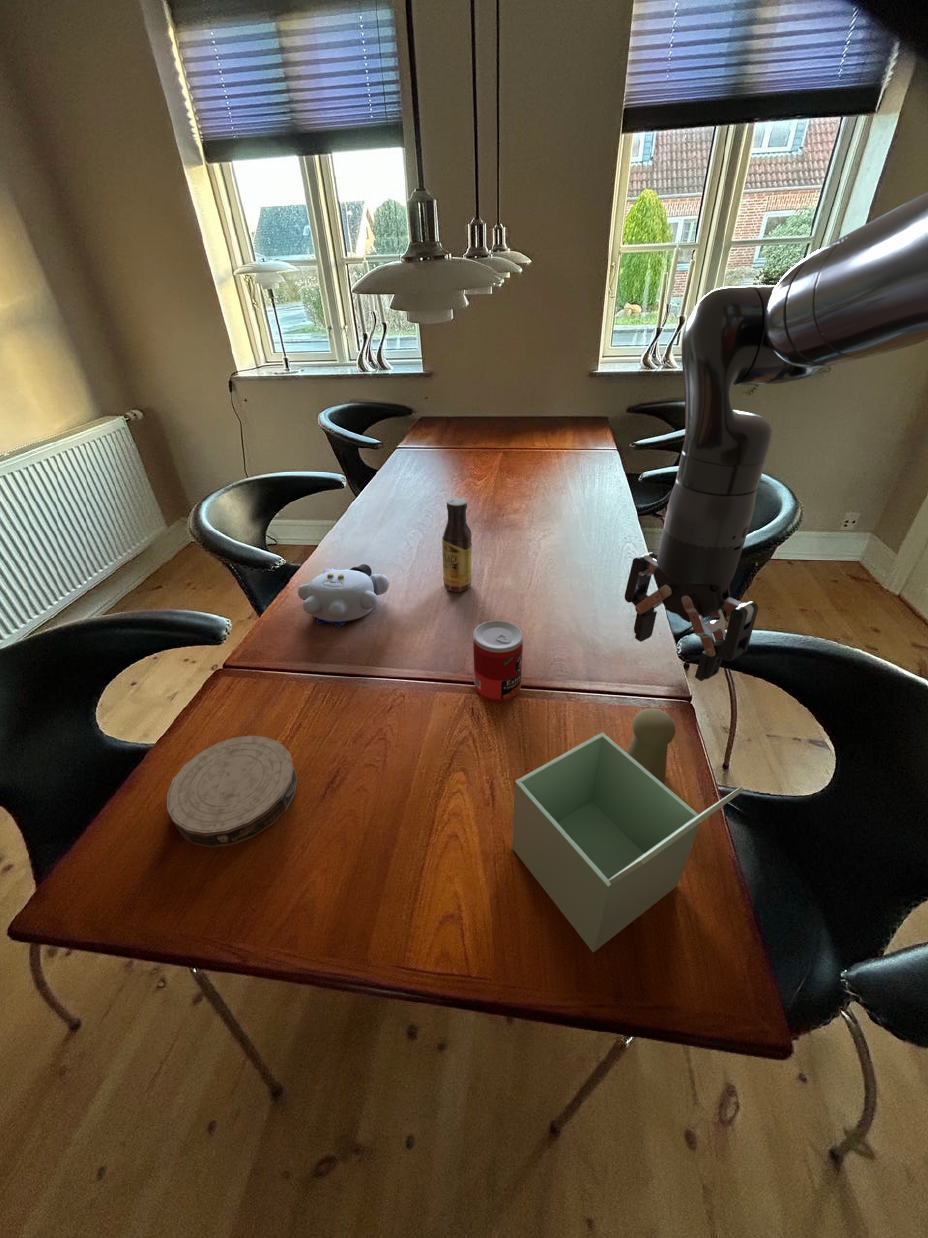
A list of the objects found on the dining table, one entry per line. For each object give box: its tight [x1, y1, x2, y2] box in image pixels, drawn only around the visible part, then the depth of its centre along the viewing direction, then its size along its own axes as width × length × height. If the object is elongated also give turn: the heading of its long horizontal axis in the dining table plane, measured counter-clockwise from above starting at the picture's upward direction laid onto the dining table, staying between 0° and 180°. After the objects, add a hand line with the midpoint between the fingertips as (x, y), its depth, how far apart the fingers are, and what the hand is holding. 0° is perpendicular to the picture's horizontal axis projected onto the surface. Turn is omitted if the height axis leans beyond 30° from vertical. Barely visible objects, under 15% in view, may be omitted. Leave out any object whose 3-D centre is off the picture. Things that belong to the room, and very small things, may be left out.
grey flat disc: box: [166, 735, 298, 848], centre depth 71 cm, size 16×16×3 cm
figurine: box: [297, 563, 390, 628], centre depth 109 cm, size 17×8×20 cm
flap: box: [609, 786, 745, 885], centre depth 47 cm, size 7×13×1 cm
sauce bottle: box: [441, 497, 473, 593], centre depth 111 cm, size 7×6×20 cm
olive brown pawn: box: [626, 707, 676, 785], centre depth 70 cm, size 6×6×11 cm
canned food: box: [472, 620, 524, 703], centre depth 86 cm, size 8×8×11 cm
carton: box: [511, 732, 701, 953], centre depth 59 cm, size 14×13×12 cm
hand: (671, 656), depth 61 cm, fingers open, 8 cm apart
